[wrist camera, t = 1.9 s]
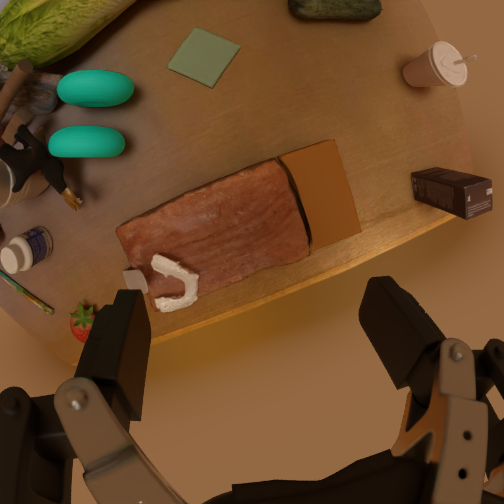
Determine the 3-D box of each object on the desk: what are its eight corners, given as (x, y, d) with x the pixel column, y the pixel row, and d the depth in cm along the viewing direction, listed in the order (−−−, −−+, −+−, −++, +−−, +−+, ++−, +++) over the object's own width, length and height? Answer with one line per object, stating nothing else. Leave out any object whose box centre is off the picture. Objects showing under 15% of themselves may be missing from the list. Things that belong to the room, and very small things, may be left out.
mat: (195, 28, 28) (195, 26, 27) (241, 47, 29) (241, 46, 29) (167, 68, 30) (165, 66, 29) (212, 88, 31) (212, 87, 31)
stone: (-16, 121, 25) (-36, 87, 16) (-3, 98, 26) (-19, 61, 17) (64, 128, 31) (53, 86, 22) (75, 103, 32) (70, 60, 23)
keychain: (152, 292, 31) (144, 268, 31) (148, 294, 31) (139, 269, 30) (131, 288, 39) (125, 269, 39) (128, 290, 39) (121, 271, 39)
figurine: (21, 124, 24) (81, 197, 36) (-15, 165, 21) (53, 235, 33) (39, 105, 19) (115, 200, 30) (-10, 156, 16) (79, 249, 27)
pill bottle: (46, 221, 35) (11, 238, 27) (57, 252, 37) (25, 274, 29) (26, 231, 36) (-7, 248, 27) (37, 260, 37) (6, 281, 29)
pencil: (-9, 266, 37) (53, 313, 41) (-12, 268, 36) (50, 316, 40) (-9, 261, 37) (54, 308, 40) (-12, 263, 36) (51, 311, 39)
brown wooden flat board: (354, 229, 38) (363, 235, 35) (159, 302, 40) (154, 314, 37) (326, 138, 34) (334, 137, 31) (118, 223, 36) (109, 229, 33)
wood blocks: (-32, 104, 17) (-3, 44, 14) (-21, 96, 19) (10, 39, 15) (76, 210, 34) (119, 171, 30) (82, 198, 36) (125, 160, 32)
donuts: (73, 154, 32) (31, 158, 23) (84, 86, 29) (44, 73, 20) (134, 156, 33) (101, 159, 24) (146, 84, 30) (117, 63, 21)
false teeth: (198, 259, 32) (200, 253, 35) (146, 257, 32) (152, 251, 34) (198, 319, 35) (200, 310, 37) (151, 316, 34) (156, 307, 37)
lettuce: (150, -28, 26) (167, 39, 32) (12, 26, 20) (18, 99, 26) (161, -81, 12) (181, -10, 19) (-21, -9, 6) (-28, 80, 13)
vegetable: (290, 25, 28) (297, 9, 24) (282, -3, 27) (287, -20, 22) (379, 27, 28) (395, 15, 23) (370, 1, 26) (383, -12, 22)
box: (414, 202, 37) (466, 221, 26) (410, 172, 36) (463, 184, 24) (442, 194, 37) (493, 211, 26) (438, 166, 36) (492, 176, 24)
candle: (55, 151, 32) (-16, 158, 18) (52, 197, 34) (-15, 222, 20) (25, 152, 31) (-43, 161, 17) (23, 195, 33) (-42, 217, 19)
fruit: (108, 339, 43) (104, 313, 38) (88, 357, 39) (80, 333, 34) (88, 320, 44) (82, 292, 39) (68, 337, 40) (59, 310, 35)
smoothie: (433, 92, 32) (495, 82, 18) (404, 98, 32) (468, 84, 19) (418, 55, 29) (476, 33, 16) (388, 59, 30) (445, 31, 17)
